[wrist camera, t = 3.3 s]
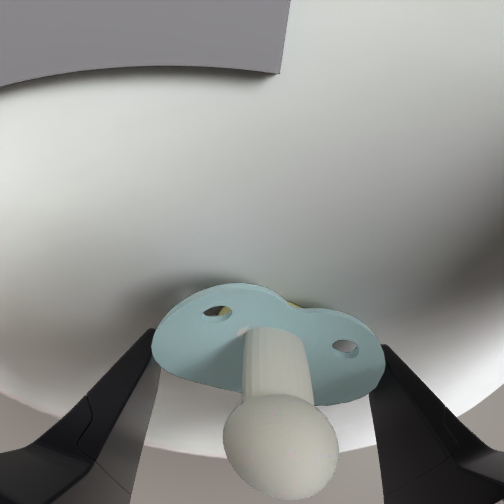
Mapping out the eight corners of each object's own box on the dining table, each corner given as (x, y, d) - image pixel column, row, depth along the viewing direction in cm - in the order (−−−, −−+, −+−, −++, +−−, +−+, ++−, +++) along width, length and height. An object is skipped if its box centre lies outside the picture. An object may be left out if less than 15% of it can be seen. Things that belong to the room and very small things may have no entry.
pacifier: (307, 390, 13) (389, 305, 10) (319, 515, 8) (445, 469, 5) (150, 352, 12) (184, 236, 9) (117, 495, 7) (120, 459, 3)
